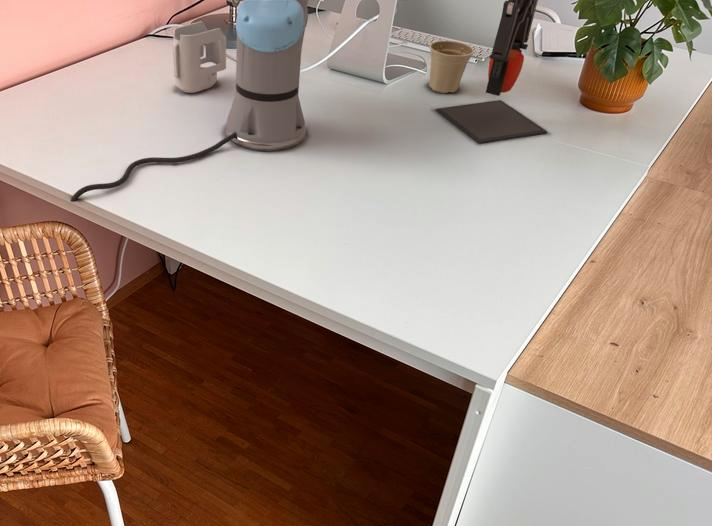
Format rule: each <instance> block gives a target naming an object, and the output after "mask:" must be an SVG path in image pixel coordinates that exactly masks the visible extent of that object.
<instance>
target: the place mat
mask: <svg viewBox="0 0 712 526" xmlns="http://www.w3.org/2000/svg"><path fill="white" fill-rule="evenodd" d="M435 112H437V113H438V114H439V115H441V116H442V117H443V118H445V119H446V120H447V121H449V123H451V124H452V125H453V126H455V127H456V128H458V129H459V130H460V131H461V132H463V133H464V134H465V135H467V136H468V137H469V138H470V139H472V140H473V141H474V142H476V143H477V144H478V145H481V144H487V143H493V142H499V141H507V140H512V139H519V138H526V137H533V136H538V135H547V134H548V131H547V130H546V129H544V128H543V127H542V126H540V125H538V124H537V123H535V122H534V121H532V120H531V119H529V118H528V117H527V116H525V115H524V114H522V113H521V112H519V110H516V109H515V108H513V107H511V106H510V105H509V104H508V103H506V102H504V101H503V100H502V99H500V100H499V99H498V100H490V101H484V102H477V103H468V104H463V105H462V104H461V105H456V106H455V105H454V106H448V107H447V106H446V107H440V108H435Z"/></svg>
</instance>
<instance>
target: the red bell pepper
mask: <svg viewBox="0 0 712 526" xmlns="http://www.w3.org/2000/svg"><path fill="white" fill-rule="evenodd" d="M493 60H494V59H491V58H489V63H488V73H487V74H488V75H487V77H488V79H487V80H489V77H490V73H491V69H492V64H493ZM508 60H509V63H508V67H507V71H506V75H505V79H504V82H503V86H502V90H501V93H507V92H510V91H512V89H513V88H514V86H515V84H516V82H517V80H518V78H519V76H520V74H521V71H522V69H523V65H524V60H525V55H524V54H523V53H522V52H519V51H518V50H511V51H510V54H509V57H508Z"/></svg>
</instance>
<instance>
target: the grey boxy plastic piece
mask: <svg viewBox="0 0 712 526" xmlns="http://www.w3.org/2000/svg"><path fill="white" fill-rule="evenodd" d="M172 36H173V44H172V54H173V55H172V56H173V58H172V59H173V60H172V61H173V76H174V78H175V87H177V89H179V90H180V91H181V92H183V93H188V94H189V93H190V94H191V93H197V92H201V91H203V90H208V89H210V88H212V87H213V86H214V85H215V84H216V82H217V81H218V73H219V72H222V71H225V70H226V69H227V37H226V36H225V34H224V32H223V31H222V29H221V27H217V28H214V29H209V30H208V28H207V27H206V25H205V23H204V21H202V20H201V21H196V22H193V23H189V24H185V25H182V26H178V27H175V28H173V30H172ZM204 46H205V47H204ZM204 48H205V51H204ZM204 54H205V57H204ZM207 63H212V64H213V65H210V66H201V65H205V64H207Z"/></svg>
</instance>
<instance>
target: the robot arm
mask: <svg viewBox="0 0 712 526" xmlns="http://www.w3.org/2000/svg"><path fill="white" fill-rule="evenodd" d="M308 1H309V0H243V1H242V2H241V3H240V4H239V6H238V8H237V14H236V19H235V30H236V31H235V32H236V56H235V57H236V60H235V61H236V65H235V66H236V68H235V95H234V97H233V100H232V104H231V107H230V109H229V113H228V116H227V118H226V123H225V128H226V129H225V134H226V137H224V138H223V139H221V140H220V141H218V142H217V143H216V144H214V145H212V146H210V147H208V148H206V149H204V150H201V151H199V152H195V153H192V154H188V155H184V156H178V157H177V156H176V157H154V156H153V157H145V158H140V159H137V160H135V161H133V162H131V163H130V164H129V165H128V167H127V168H126V169H125V171H124V174H123V175H122V176H121V177H120V178H119V179H118V180H115V181H113V182H112V181H111V182H107V183H105V182H104V183H94V184H88V185H85V186H83V187H81V188H80V189H78V190H77V191H75V193H74V194H73V195H72V196H71V198H70V200H69V202H70V203H75V202H77V201H78V200H79V198H80V197H81V196H82V195H83V194H85V193H87V192H91V191H96V190H110V189H114V188H117V187H119V186H121V185H123V184H124V183H125V182H127V180H128V179H129V177H130V175H131V173H132V172H133V170H134V169H135V168H136V167H138V166H141V165H145V164H154V163H155V164H157V163H159V164H160V163H161V164H177V163H184V162H188V161H192V160H196V159H199V158H202V157H204V156H206V155H208V154H210V153H212V152H214V151H217V150H218V149H220V148H221V147H223V146H224V145H225V144H227V143H229V142H230V141H231V142H233V143H234V144H236V145H238V146H241V147H243V148H246V149H250V150H256V151H267V152H269V151H272V152H273V151H281V150H286V149H290V148H293V147H295V146H297V145H299V144H300V143H301V142H302V141H303V140H304V139H305V137H306V121H305V117H304V112H303V109H302V105H301V100H300V97H299V92H300V91H299V90H300V89H299V88H300V75H301V63H302V52H303V51H302V50H303V45H304V44H303V42H304V37H305V32H306V28H307V25H308V20H309V8H308V4H309V2H308ZM538 2H539V0H505V1H504V3H503V5H502V6H503V7H502V11H501V17H500V21H499V24H498V28H497V32H496V36H495V39H494V43H493V46H492V50H491V54H489V59H494V60H493V64H492V69H491V73H490V77H489V79H488V81H487V85H486V88H485V93H486V94H489V95H493V96H496V97H500V96H501V90H502V86H503V82H504V79H505V75H506V71H507V67H508V63H509V60H508V57H509V54H510V51H511V50H518V51H519V52H521V53H522V51H523V50H525V51H526V50H527V49H528V47H529V44H526V43H528V41H529V38H530V37H529V36H530V33H531V29H532V25H533V22H534V17H535V14H536V10H537V6H538Z"/></svg>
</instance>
